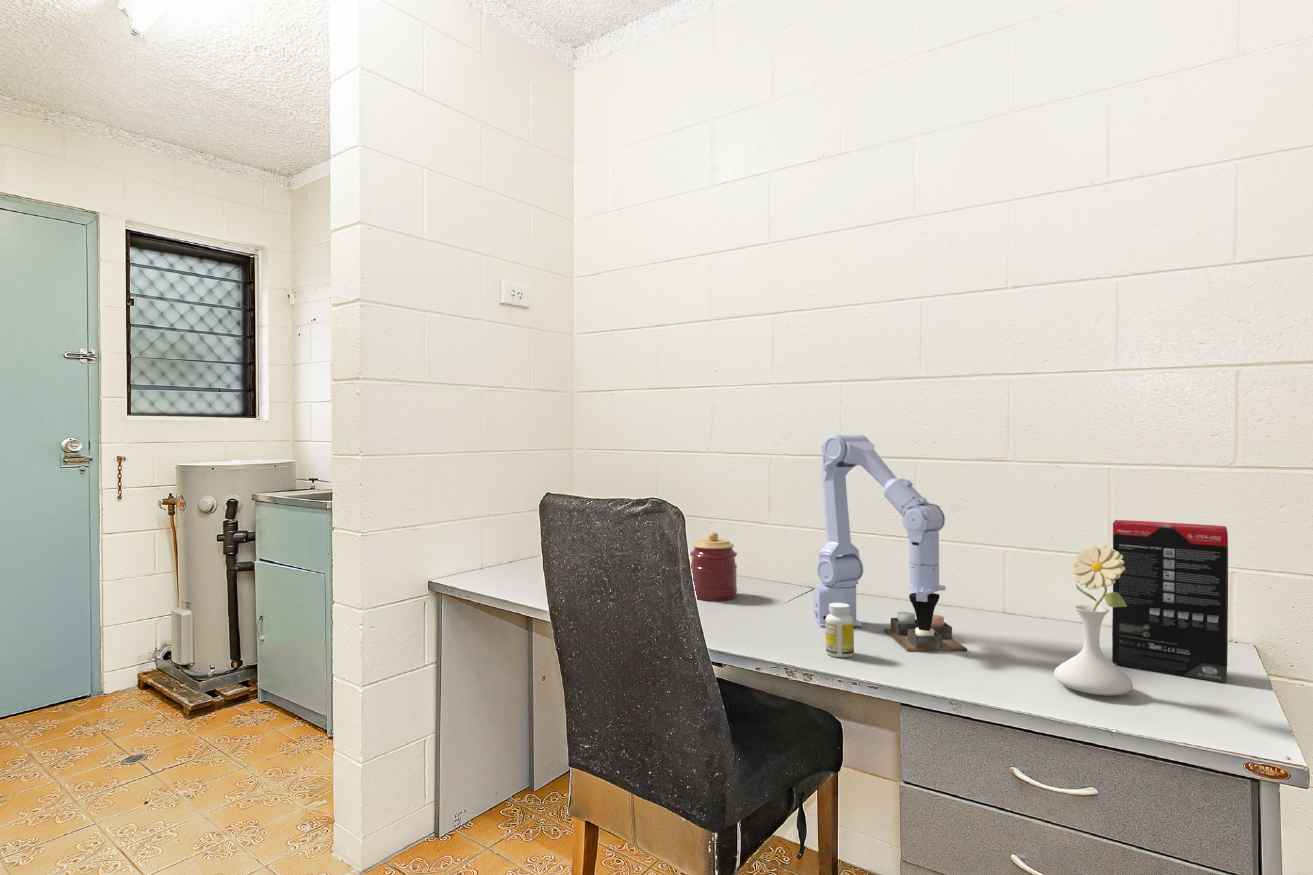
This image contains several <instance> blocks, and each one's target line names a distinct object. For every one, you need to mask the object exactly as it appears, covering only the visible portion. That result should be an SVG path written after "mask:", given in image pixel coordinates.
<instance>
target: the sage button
mask: <svg viewBox="0 0 1313 875" xmlns="http://www.w3.org/2000/svg"><path fill="white" fill-rule="evenodd" d="M897 618H898V623H907V624H915V619H916V614H915V613H913V612H909V611H908V612H907V611H899V612H898V613H897Z"/></svg>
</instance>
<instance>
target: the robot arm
mask: <svg viewBox="0 0 1313 875" xmlns="http://www.w3.org/2000/svg"><path fill="white" fill-rule="evenodd" d="M821 456H822V462H821V468H820V474H821V485H822V497H823V498H822V499H823V510H824V511H823V512H824V523H825V524H824V525H825V526H824V527H825V535H826V544H825V545H824V546H823V547H822V548H821V549H820V550H819V551H818V563H817V566H816V572H817V576H818V578H819V580H820V581H821V584H815V586H814V592H813V594H814V595H813V602H814V603H813V605H814V606H813V609H814V610H813V612H814V615H813V619H814V620H815V622H816V623H817V624H818V625H819V626H820V627H826V617H827V615H829V614H830V612H829V604H831V603H845V604H848V605H849V606H850V611H849V613H848V615H850V616H851V617H852V618H853V627H863V624H862V623H861V622H860V621H859V620H858V619H857V585H859V580H860V579H862V577H863V576H864V575H863V574H864V565H863V562H862V560H861V557H860V552H859V549H858V548H857V547H856V546H855V545H854V544H853V543H852V541H851V540H852V538H851V528H850V517H849V504H848V491H847V480H846V478H847V477H846V476H847V475H848V474H849V472H850V471H851V470H852V469H853V468H855V467H857V466H860V467H862V468H863V469H864V470H865V471H866V472H867V473H868V474H869V475H870V476H871V477H872V478H873V479H874V480H875V481H876V482H877V483H879V485H880V486H882V487H883V488H884V489H883V490H884V491H883V496H884V497H885V498H886V500H887V501H888V503H889V504H891V506H892V507H893V508H894V509H895V510H896V511H897V512H898V513H899V515H901V517H903V518H902V519H901V520H902V524H903V527H904V529H905V530H906V532H907V533H906V534H907V539H908V542H909V543H908V544H909V546H908V547H909V548H908V552H909V553H908V554H909V555H908V556H909V557H908V560H909V561H908V562H909V563H908V564H909V566H908V568H909V571H908V572H909V573H908V574H909V582H908V589H909V590H911V591H912V593H909V595H908V598H909V601H910V602H911V603H910V604H911V605H912V607H913V610H914V614H915V619H916V620H917V624H918V628H919V630H926V631H930V629H931V625H932V619H933V615H934V612H935V608H936V605H937V604H938V602H939V599H940V597H941V596H940V594H939V593H937V592H940V591H946V589H947V588H946V585H942V584H940V531H941V530H942V529H943V527H944V526H945V523H946V522H945V521H946V518H945V514H944V511H943V510H942V508H941V506H940V505H938V504H936V503H930V501H928V500H927V499H926V497H925V496H922V495H921V494H920V493H919V492H918V491H917V489H916V488H915V487H913V485H914V483H913V482H912V481H911V480H907V479H906V478H902V477H901V478H898V477H897V476H896V474H894V472H893V471H892V470H891V468H889V466H888V465H887V464H886V463H885V461H884V460H883V459H882V458H881V457H880V455H879V454H878V453H877V451H876V450H875V444H874V443H872V442H871V441H870V439H868V437H867V436H866V435H863V434H857V435H849V434H848V435H847V434H846V435H841V434H839V435H838V434H831V435H829V436H828V437H827V438H826V439H825V440H824V442H823V443H822V444H821Z"/></svg>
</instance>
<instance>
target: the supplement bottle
mask: <svg viewBox="0 0 1313 875" xmlns="http://www.w3.org/2000/svg"><path fill="white" fill-rule="evenodd" d="M849 611H850V606H849V605H848V604H845V603H831V604H829V612H830V614H829V615H827V617H826V626H825V652H826V654H827V655H828V656H831V657H834V658H841V659H842V658H844V659H845V658H851V657H852V656H854V654H855V649H854V648H855V647H854V646H855V642H854V641H855V637H854V636H855V635H854V631H855V629H854V626H853V618H852V617H851V616H850V615H848V613H849Z"/></svg>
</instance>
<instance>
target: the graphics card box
mask: <svg viewBox="0 0 1313 875" xmlns="http://www.w3.org/2000/svg"><path fill="white" fill-rule="evenodd" d="M1227 529H1228V528H1227V526H1226V525H1215V524H1199V523H1198V524H1197V523H1184V522H1181V523H1179V522H1168V521H1167V522H1165V521H1163V522H1161V521H1147V520H1145V521H1144V520H1127V519H1126V520H1124V519H1115V520H1113V523H1112V550H1116V551H1118V552H1119V554H1121V555H1123V558H1122V560H1123V561H1124V564H1123V565H1122V566H1124V567H1125V570H1124V571H1123V572H1122V574H1120V578H1119V579H1115V583H1114V584H1112V592H1117V593H1119V594H1120V596H1121V597H1122V599H1123V600H1124V602H1125V603H1126V605H1127V607H1112V620H1111V621H1112V623H1111V625H1112V626H1111V627H1112V629H1111V636H1112V637H1111V638H1112V640H1111V644H1112V648H1111V651H1112V652H1111V654H1112V657H1111V658H1112V659H1111V660H1112V664H1114V665H1121V666H1128V667H1133V668H1139V669H1143V670H1151V671H1155V672H1163V673H1167V674H1173V675H1178V676H1185V677H1189V678H1195V679H1200V680H1207V681H1211V682H1212V681H1213V682H1218V683H1227V680H1228V677H1227V676H1228V653H1229V652H1228V651H1229V650H1228V645H1229V644H1228V635H1229V634H1228V633H1229V631H1228V630H1229V629H1228V628H1229V534H1228V530H1227Z"/></svg>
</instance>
